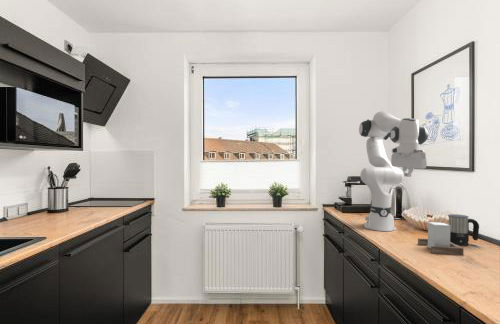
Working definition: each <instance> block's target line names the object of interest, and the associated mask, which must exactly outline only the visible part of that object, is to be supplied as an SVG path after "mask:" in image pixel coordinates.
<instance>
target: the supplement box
mask: <svg viewBox="0 0 500 324" xmlns="http://www.w3.org/2000/svg"><path fill="white" fill-rule="evenodd" d="M427 239H428V245H427V248H429V249H431V246H438V247H450V225H449V224H448V223H446V222H445V223H444V222H433V221H432V222H431V221H430V222H429V221H428V222H427Z"/></svg>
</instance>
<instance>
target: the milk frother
mask: <svg viewBox="0 0 500 324" xmlns="http://www.w3.org/2000/svg"><path fill="white" fill-rule="evenodd" d="M447 216H448V225H450V242H451V243H453V244H455V245H457V246H468V245H469V242H470V240H469V239H470V235H469V234H470V232H469V231H470V230H469V227H470V224H472V225H473V227H472V239H473V240H474V241H478V239H479V233H480V232H479V231H480V230H479V229H480V224H479V223H478V221H477V220H475V219H473V218H469V216H468V215H465V214H457V213H456V214H453V213H452V214H451V213H449V214H448V215H447Z"/></svg>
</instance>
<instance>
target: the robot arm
mask: <svg viewBox="0 0 500 324" xmlns="http://www.w3.org/2000/svg"><path fill="white" fill-rule="evenodd" d="M358 127H359V128H358V132H359V135H360V137H364V138H368V139H367V140H366V154H367V158H368V162H369V164H370V165H371V166H368V167H364V168H363V169H362V170H361V171H360V180H361V181H362V183H364V184H365V185H366V186H367V188H368V189H369V191H370V196H371V205H370V212H369V214H368V215H367V216H365V218H364V219H365V221H366V222H363V226H364V229H365V230H366V229H367V230H372V231H379V232H391V231H392V232H393V231H396V230H397V228H396V226H395V224H394V223H395V222H394V219H395V218H394V215H393V214H392V207H391V205H392V201H391V200H392V197H391V194H390V192H388V191H387V190H385V189H383V186H382V185H387V186H388V185H389V186H391V185H398V184H401V183H402V182H403V180H404V177H408V178H411V177H412V173H413V171H414V169H418V170H419V169H421V170H423V169H424V170H425V169H426V168H427V165H428V164H427V155H426V154H427V153H426V151H425V150H423V149H419V146H420V145H423V144H424V143H426V141H427V140H428V138H429V131H428V129H427V128H426V127H425V126H424V125H419V119H416V118H411V117H410V118H409V117H408V118H407V117H406V118H398V117H396V116H394V115H392V114H391V113H389V112H387V111H378V112H376V113H375V114H373V117H372V119H371V120H370V119H366V120H363V121H362V122H361V123H360V124H359V126H358ZM389 138H390V141H392V142H393V143H394V144H398V146H396V147H393V148H392V149H391V158H390V159H389V158H388V156H387V153H386V149H385V145H384V140H385V141H386V140H388V139H389ZM401 168H402V169H401Z"/></svg>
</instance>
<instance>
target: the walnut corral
mask: <svg viewBox="0 0 500 324" xmlns="http://www.w3.org/2000/svg"><path fill="white" fill-rule="evenodd" d="M417 245H418V246H428V238H417ZM430 253H431V254H433V255H436V254H437V255H456V256H457V255H458V256H463V255H464V254H465V251H464V247H461V245H455V244H453V243H451V242H450V247H438V246H431V248H430Z"/></svg>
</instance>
